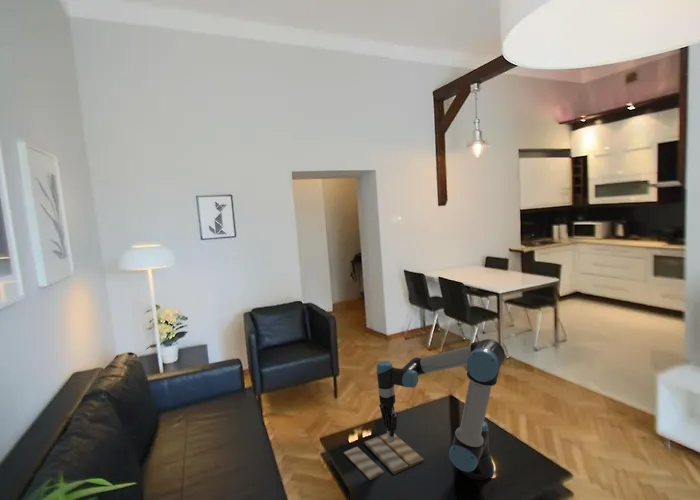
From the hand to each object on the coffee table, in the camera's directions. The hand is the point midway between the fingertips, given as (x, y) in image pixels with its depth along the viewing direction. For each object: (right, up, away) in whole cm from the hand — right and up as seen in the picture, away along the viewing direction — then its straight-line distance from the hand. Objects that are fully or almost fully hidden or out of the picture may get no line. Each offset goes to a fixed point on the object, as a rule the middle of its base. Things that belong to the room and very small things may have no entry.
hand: (391, 441), depth 180 cm
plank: (-13, -12, +2) cm, 18 cm away
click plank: (-2, -10, +6) cm, 12 cm away
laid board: (+6, -9, +10) cm, 15 cm away
